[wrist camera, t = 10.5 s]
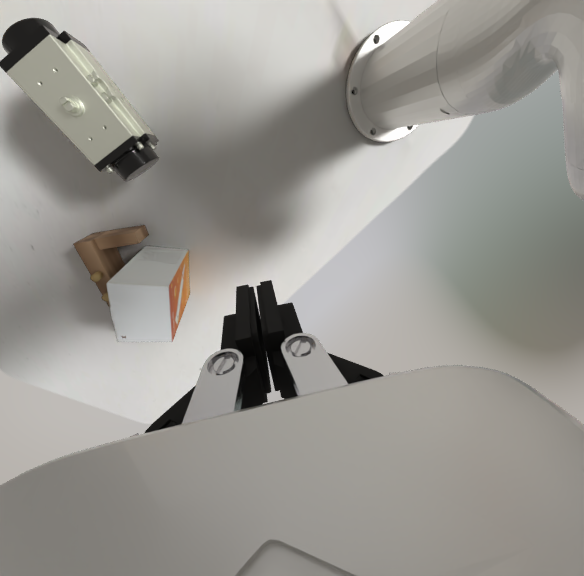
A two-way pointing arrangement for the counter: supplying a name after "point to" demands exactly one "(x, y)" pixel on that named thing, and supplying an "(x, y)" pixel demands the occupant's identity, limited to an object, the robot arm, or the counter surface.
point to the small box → (150, 295)
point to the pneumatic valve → (78, 97)
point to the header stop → (107, 253)
